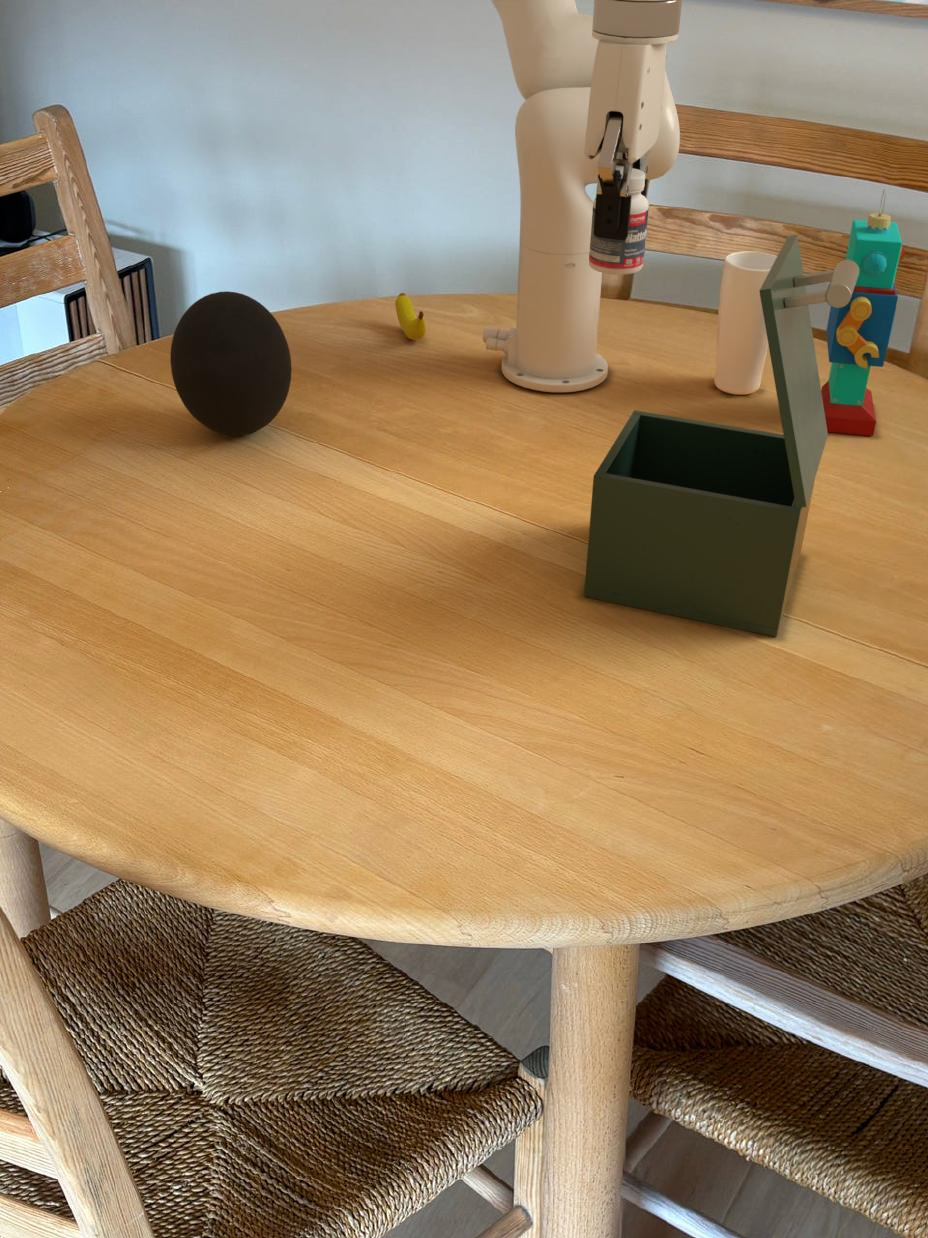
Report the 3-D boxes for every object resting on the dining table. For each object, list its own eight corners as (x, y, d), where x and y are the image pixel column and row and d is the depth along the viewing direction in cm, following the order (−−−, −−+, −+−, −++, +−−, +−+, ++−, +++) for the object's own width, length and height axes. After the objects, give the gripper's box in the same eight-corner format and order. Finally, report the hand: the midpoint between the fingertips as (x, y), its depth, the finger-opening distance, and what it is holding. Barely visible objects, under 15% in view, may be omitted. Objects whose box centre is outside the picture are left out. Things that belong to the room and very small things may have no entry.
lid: (759, 290, 89) (840, 276, 86) (787, 236, 99) (860, 222, 97) (796, 508, 96) (871, 501, 94) (818, 436, 107) (886, 428, 104)
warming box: (583, 596, 108) (593, 475, 101) (623, 524, 118) (634, 409, 112) (776, 637, 103) (800, 512, 96) (799, 557, 114) (822, 440, 107)
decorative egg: (228, 467, 127) (214, 326, 118) (156, 430, 134) (137, 294, 125) (319, 429, 134) (311, 294, 126) (246, 396, 141) (234, 266, 133)
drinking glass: (701, 393, 144) (717, 265, 135) (714, 371, 149) (731, 247, 140) (759, 403, 142) (780, 273, 133) (770, 381, 147) (791, 255, 138)
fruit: (430, 350, 153) (430, 311, 150) (413, 352, 153) (413, 313, 150) (409, 321, 161) (409, 283, 158) (393, 323, 161) (393, 285, 158)
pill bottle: (628, 279, 117) (636, 183, 112) (579, 269, 120) (585, 174, 114) (652, 264, 121) (661, 170, 116) (603, 254, 123) (610, 161, 118)
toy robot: (873, 443, 133) (925, 207, 119) (816, 437, 134) (860, 202, 120) (867, 399, 143) (914, 176, 129) (813, 394, 144) (853, 172, 130)
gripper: (619, 2, 116) (604, 200, 126) (566, 31, 102) (554, 250, 113) (699, 7, 114) (677, 209, 124) (656, 38, 100) (635, 260, 110)
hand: (618, 226), depth 118 cm, fingers closed on pill bottle, 5 cm apart
